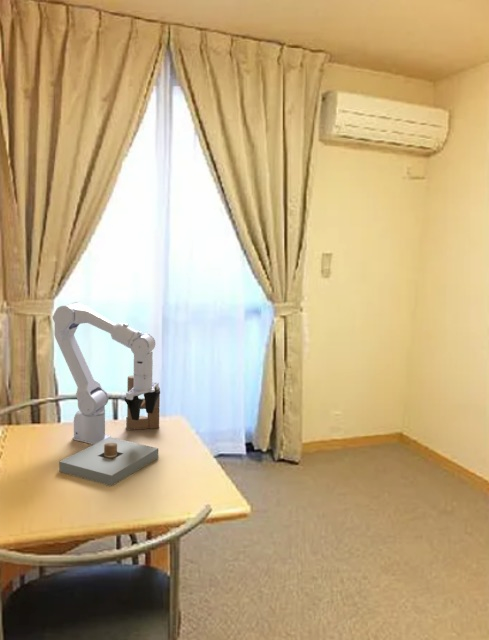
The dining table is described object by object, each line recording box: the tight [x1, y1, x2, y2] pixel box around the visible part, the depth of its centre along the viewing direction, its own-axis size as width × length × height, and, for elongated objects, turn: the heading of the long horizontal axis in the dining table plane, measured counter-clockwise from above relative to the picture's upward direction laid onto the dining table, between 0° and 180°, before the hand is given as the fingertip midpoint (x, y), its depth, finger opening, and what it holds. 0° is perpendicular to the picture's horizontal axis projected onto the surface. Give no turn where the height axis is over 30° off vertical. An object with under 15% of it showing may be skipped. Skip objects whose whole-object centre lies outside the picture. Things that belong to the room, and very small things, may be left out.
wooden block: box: [125, 375, 161, 431], centre depth 199 cm, size 4×11×18 cm, turn 108°
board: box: [58, 436, 159, 487], centre depth 170 cm, size 18×22×3 cm
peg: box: [104, 443, 117, 459], centre depth 169 cm, size 4×4×6 cm
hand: (142, 416), depth 184 cm, fingers open, 7 cm apart
